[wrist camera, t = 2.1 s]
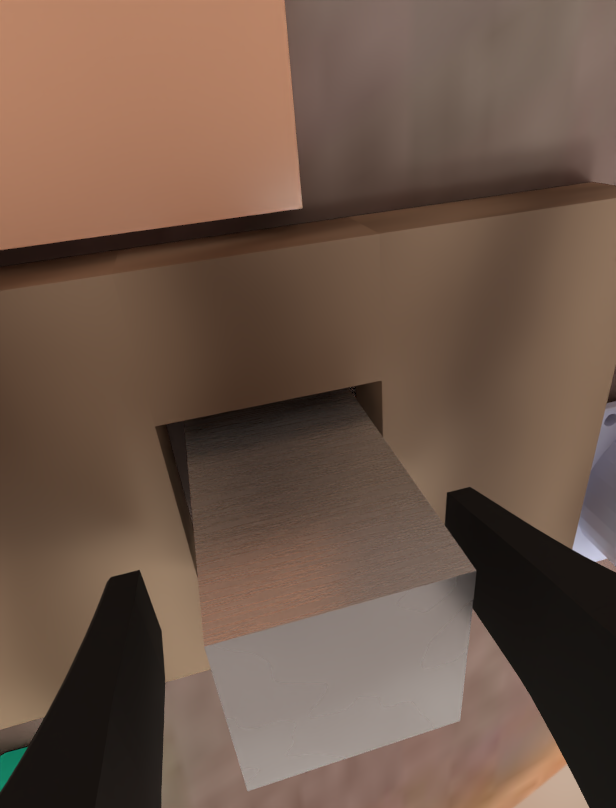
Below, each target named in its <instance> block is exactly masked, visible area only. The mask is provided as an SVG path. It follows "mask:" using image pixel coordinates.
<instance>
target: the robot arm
mask: <svg viewBox="0 0 616 808" xmlns="http://www.w3.org/2000/svg"><path fill="white" fill-rule="evenodd" d="M445 526H446V528H447V529H448V531H449V532H450V534H451V535H452V536H453V538H454V539H455V541H456V542H457V544H458V545H459V546H460V548H461V549H462V551H463V552H464V554H465V555H466V556H467V558H468V559H469V561H470V562H471V563H472V565H473V566H474V568H475V569H476V571H477V572H476V581H475V590H474V599H473V609H474V611H475V612H476V614H477V615H478V617H479V618H480V620H481V621H482V623H483V624H484V626H485V627H486V629H487V630H488V632H489V633H490V635H491V636H492V638H493V639H494V641H495V642H496V643H497V645H498V646H499V648H500V649H501V651H502V652H503V654H504V655H505V657H506V658H507V660H508V661H509V663H510V664H511V666H512V667H513V669H514V670H515V672H516V673H517V675H518V676H519V678H520V679H521V681H522V683H523V684H524V686H525V687H526V689H527V691H528V692H529V694H530V696H531V697H532V699H533V701H534V703H535V705H536V707H537V708H538V710H539V712H540V714H541V716H542V717H543V719H544V721H545V723H546V725H547V727H548V728H549V730H550V732H551V734H552V736H553V737H554V739H555V741H556V743H557V745H558V747H559V749H560V751H561V753H562V755H563V757H564V759H565V760H566V762H567V764H568V766H569V768H570V770H571V772H572V774H573V776H574V778H575V779H576V782H577V783H578V785H579V788H580V790H581V792H582V794H583V796H584V798H585V800H586V802H587V804H588V806H589V808H616V573H615V572H613V571H611V570H609V569H607V568H605V567H604V566H602V565H600V564H598V563H596V562H597V561H600V560H603V559H609V560H610V561H611V562H612V563H613V564H614V565H615V566H616V401H614V402H610V403H607V404H606V408H605V413H604V417H603V421H602V425H601V430H600V434H599V438H598V442H597V446H596V451H595V455H594V459H593V463H592V468H591V472H590V476H589V480H588V485H587V489H586V493H585V497H584V502H583V506H582V510H581V514H580V518H579V523H578V527H577V531H576V535H575V540H574V544H573V548H572V549H570V548H569V547H567V546H565V545H563V544H562V543H560V542H558V541H556V540H555V539H553V538H551V537H550V536H548V535H546V534H545V533H543V532H541V531H540V530H538V529H536V528H535V527H533V526H531V525H530V524H528V523H527V522H525V521H523V520H522V519H520V518H519V517H517V516H516V515H514V514H512V513H511V512H509V511H508V510H506V509H504V508H503V507H501V506H500V505H498V504H497V503H495V502H494V501H492V500H490V499H489V498H487V497H486V496H484V495H483V494H481V493H479V492H478V491H476V490H475V489H473V488H471V487H467V488H463V489H459V490H455V491H451V492H447V496H446V512H445ZM164 702H165V668H164V654H163V641H162V630H161V628H160V625H159V622H158V619H157V616H156V614H155V611H154V608H153V605H152V603H151V600H150V597H149V594H148V591H147V589H146V586H145V583H144V580H143V577H142V575H141V572H140V570H137V571H133V572H129V573H125V574H121V575H117V576H113V577H110V579H109V580H108V581H107V583H106V585H105V588H104V591H103V593H102V596H101V599H100V601H99V604H98V606H97V609H96V611H95V614H94V616H93V618H92V621H91V623H90V625H89V628H88V630H87V632H86V635H85V637H84V639H83V641H82V643H81V646H80V648H79V650H78V652H77V654H76V656H75V658H74V660H73V663H72V665H71V667H70V669H69V671H68V673H67V675H66V677H65V679H64V681H63V683H62V685H61V687H60V689H59V691H58V693H57V695H56V697H55V698H54V700H53V702H52V704H51V706H50V708H49V710H48V712H47V714H46V716H45V717H44V719H43V721H42V723H41V725H40V727H39V728H38V730H37V732H36V734H35V735H34V737H33V739H32V741H31V742H30V744H29V746H28V748H27V749H26V751H25V753H24V754H23V756H22V758H21V759H20V761H19V763H18V764H17V766H16V768H15V769H14V771H13V772H12V774H11V776H10V777H9V779H8V781H7V782H6V784H5V785H4V787H3V789H2V790H1V792H0V808H161V786H162V759H163V731H164Z"/></svg>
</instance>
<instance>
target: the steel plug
mask: <svg viewBox="0 0 616 808" xmlns="http://www.w3.org/2000/svg"><path fill="white" fill-rule="evenodd" d="M184 429H185V440H186V452H187V463H188V474H189V485H190V496H191V507H192V518H193V529H194V540H195V551H196V563H197V574H198V585H199V596H200V607H201V618H202V629H203V640H204V648H205V651H206V655H207V658H208V661H209V665H210V668H211V671H212V675H213V678H214V681H215V685H216V688H217V691H218V695H219V698H220V701H221V704H222V708H223V711H224V714H225V718H226V721H227V724H228V728H229V731H230V734H231V738H232V741H233V744H234V748H235V751H236V754H237V758H238V761H239V764H240V767H241V771H242V774H243V777H244V781H245V784H246V787H247V791H250V790H253V789H256V788H259V787H262V786H265V785H268V784H271V783H274V782H277V781H280V780H283V779H286V778H289V777H292V776H295V775H298V774H301V773H304V772H307V771H310V770H313V769H316V768H319V767H322V766H325V765H328V764H331V763H334V762H337V761H341V760H344V759H347V758H350V757H353V756H356V755H359V754H362V753H365V752H368V751H371V750H374V749H377V748H380V747H383V746H386V745H389V744H392V743H395V742H398V741H401V740H404V739H407V738H410V737H413V736H416V735H419V734H422V733H425V732H428V731H431V730H434V729H437V728H440V727H443V726H446V725H449V724H452V723H455V722H458V721H460V716H461V707H462V698H463V689H464V680H465V671H466V662H467V653H468V644H469V635H470V626H471V617H472V608H473V599H474V590H475V581H476V572H477V571H476V569H475V568H474V566H473V565H472V563H471V562H470V561H469V559H468V558H467V556H466V555H465V554H464V552H463V551H462V549H461V548H460V546H459V545H458V544H457V542H456V541H455V539H454V538H453V536H452V535H451V534H450V532H449V531H448V529H447V528H446V526H445V525H444V524H443V522H442V521H441V519H440V518H439V516H438V515H437V514H436V512H435V511H434V509H433V508H432V506H431V505H430V504H429V502H428V501H427V499H426V498H425V497H424V495H423V494H422V492H421V491H420V489H419V488H418V487H417V485H416V484H415V482H414V481H413V479H412V478H411V477H410V475H409V474H408V472H407V471H406V469H405V468H404V467H403V465H402V464H401V462H400V461H399V459H398V458H397V457H396V455H395V454H394V452H393V451H392V450H391V448H390V447H389V445H388V444H387V442H386V441H385V440H384V438H383V437H382V435H381V434H380V432H379V431H378V430H377V428H376V427H375V425H374V424H373V422H372V421H371V420H370V418H369V417H368V415H367V414H366V412H365V411H364V410H363V408H362V407H361V405H360V404H359V402H358V401H357V400H356V398H355V397H354V395H353V394H352V393H351V391H350V390H349V388H348V387H347V388H343V389H338V390H333V391H328V392H323V393H318V394H313V395H308V396H303V397H298V398H293V399H288V400H283V401H278V402H273V403H268V404H263V405H259V406H254V407H249V408H244V409H239V410H234V411H229V412H224V413H219V414H214V415H209V416H204V417H199V418H194V419H189V420H184Z"/></svg>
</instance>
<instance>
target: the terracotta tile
mask: <svg viewBox="0 0 616 808" xmlns="http://www.w3.org/2000/svg"><path fill="white" fill-rule="evenodd" d="M301 208H303V207H302V195H301V184H300V172H299V161H298V150H297V138H296V127H295V115H294V104H293V93H292V81H291V70H290V59H289V47H288V36H287V24H286V13H285V2H284V0H0V250H5V249H12V248H19V247H26V246H34V245H41V244H48V243H55V242H63V241H70V240H77V239H84V238H92V237H99V236H106V235H113V234H120V233H128V232H135V231H142V230H149V229H157V228H164V227H171V226H178V225H186V224H193V223H200V222H207V221H214V220H222V219H229V218H236V217H243V216H251V215H258V214H265V213H272V212H280V211H287V210H294V209H301Z"/></svg>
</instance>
